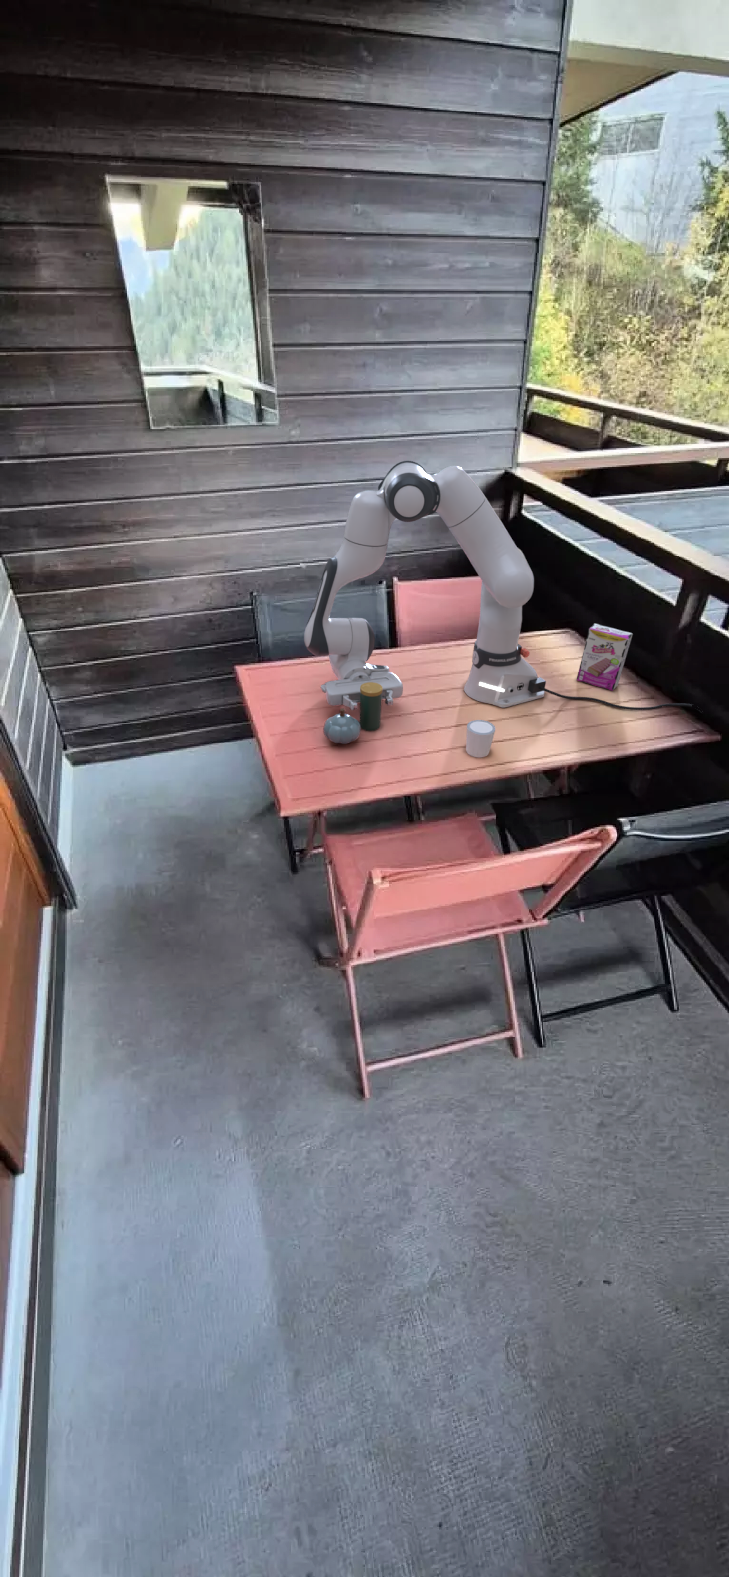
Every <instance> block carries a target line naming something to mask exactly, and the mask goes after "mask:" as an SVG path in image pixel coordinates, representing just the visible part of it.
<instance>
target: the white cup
mask: <svg viewBox="0 0 729 1577" xmlns="http://www.w3.org/2000/svg"><path fill="white" fill-rule="evenodd" d="M495 733H496V726H495V725H494V724H493V723H492V722H490V721H488V720H483V719H475V720H474V719H473V720H471V721H469V722H468V723H467V724H466V740H465V741H466V742H465V751H466V753H467V755H469V756H471V757H474V758H485V757H487V756H488V755H489V754H490V751H491V747H492V744H493V740H494V736H495Z"/></svg>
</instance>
